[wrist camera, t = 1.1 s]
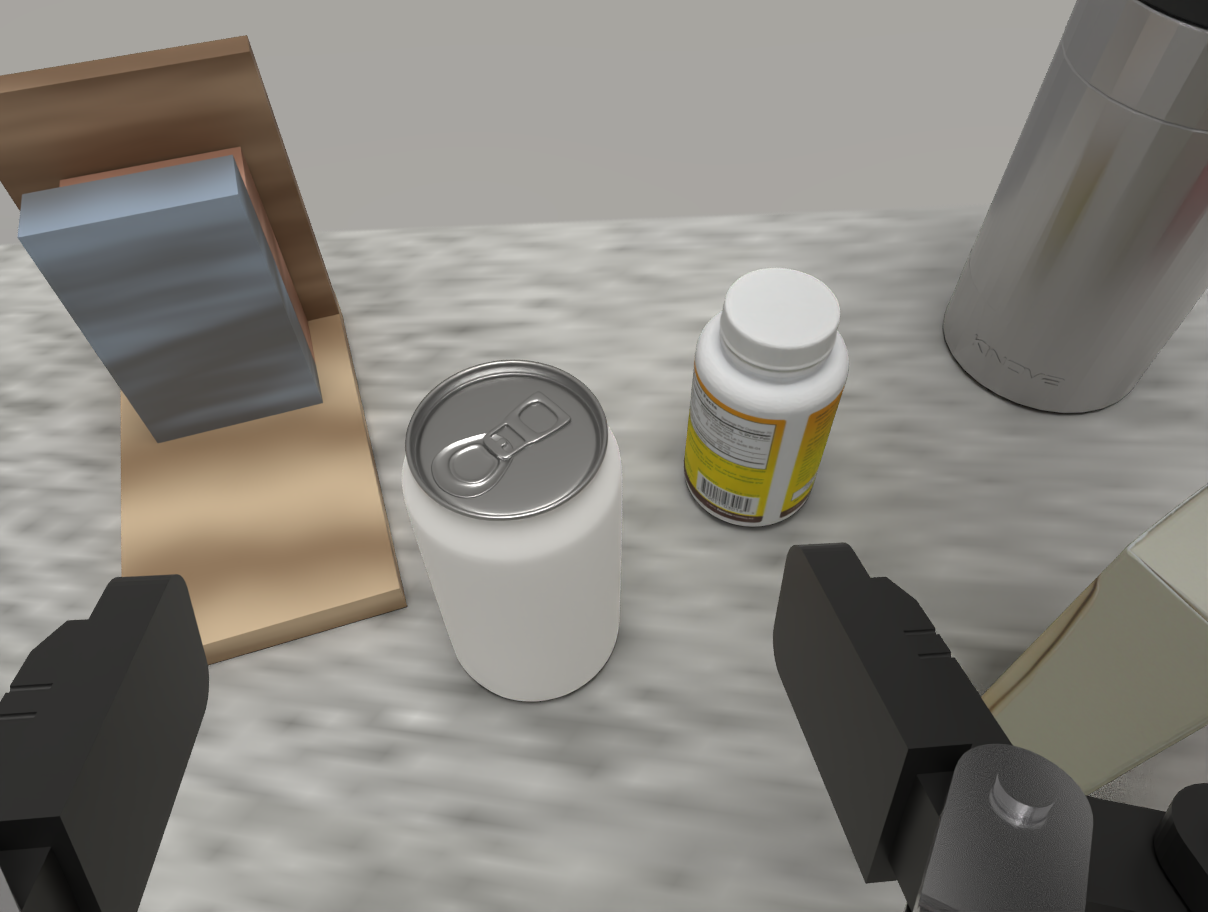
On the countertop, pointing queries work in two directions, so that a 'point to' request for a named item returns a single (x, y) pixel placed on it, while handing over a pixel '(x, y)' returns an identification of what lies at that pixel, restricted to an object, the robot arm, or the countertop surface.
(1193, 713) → the skincare box
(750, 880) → the countertop surface
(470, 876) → the countertop surface
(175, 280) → the wooden bookend
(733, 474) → the supplement bottle
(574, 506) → the can
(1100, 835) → the robot arm
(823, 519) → the countertop surface
